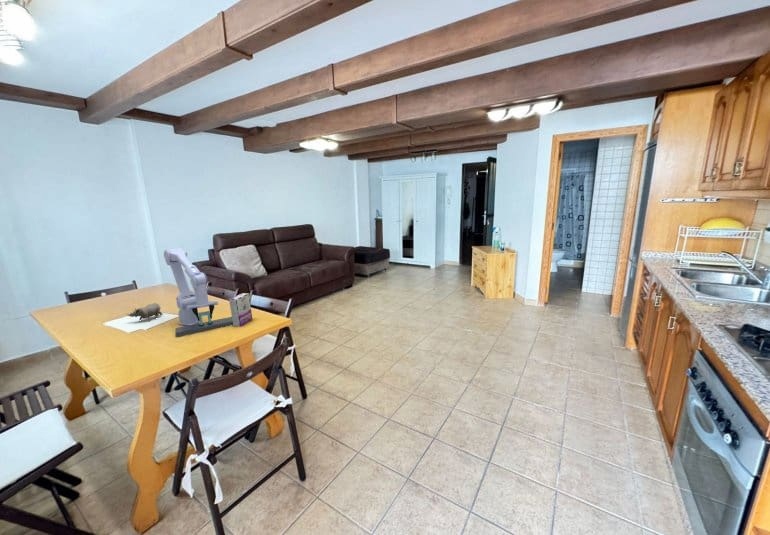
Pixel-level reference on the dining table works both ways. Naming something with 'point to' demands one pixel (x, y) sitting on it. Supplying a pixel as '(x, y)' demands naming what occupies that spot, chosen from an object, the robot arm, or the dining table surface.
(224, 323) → the rail
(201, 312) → the clip
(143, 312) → the animal figurine
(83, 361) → the dining table surface
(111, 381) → the dining table surface
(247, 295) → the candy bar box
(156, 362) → the dining table surface
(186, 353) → the dining table surface
